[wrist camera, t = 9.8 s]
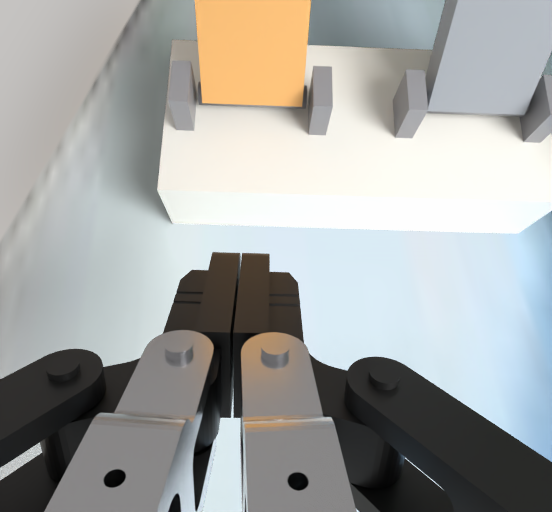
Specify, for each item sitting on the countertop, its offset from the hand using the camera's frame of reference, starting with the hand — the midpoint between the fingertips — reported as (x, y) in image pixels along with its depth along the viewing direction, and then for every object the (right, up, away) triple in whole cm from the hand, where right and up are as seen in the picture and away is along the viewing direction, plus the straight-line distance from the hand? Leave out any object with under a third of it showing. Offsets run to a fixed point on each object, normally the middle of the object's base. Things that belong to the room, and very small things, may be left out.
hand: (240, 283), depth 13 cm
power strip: (+6, +6, +13) cm, 16 cm away
